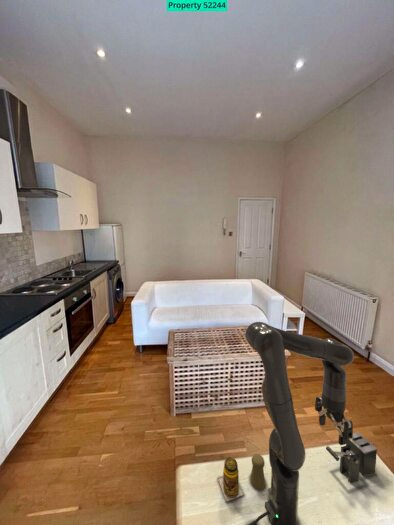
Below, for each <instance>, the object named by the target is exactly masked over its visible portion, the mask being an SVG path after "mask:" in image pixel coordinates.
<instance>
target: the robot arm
mask: <svg viewBox="0 0 394 525" xmlns="http://www.w3.org/2000/svg"><path fill="white" fill-rule="evenodd" d="M244 336H245V340H246V342H247V344H248V345H249V346H250V347H251V348H252V349H253V350H254V351H255V352H256V353H257V354H258V356H259V357H260V360H261V362H262V366H263V370H264V371H263V372H264V377H263V379H262V382H261V394H262V398H263V403H264V406H265V410H266V412H267V414H268V417H269V419H270V421H271V422H272V425H273V427H274V428H273V429H272V430H271V432H270V434H269V438H268V439H269V440H268V458H269V459H268V460H269V464H270V465H269V466H270V469H271V471H270V472H271V473H270V487H269V488H268V490H267V491H268V496H267V500H266V501H264V509H265V512H263V513H262V514H260V515H259V516H258V517H256V519H255V520H253V521H251V522H250V523H249V524H248V525H256V524H258V523H259V522H260V520H262V519H263V518H265V517H267V516H268V517H269V520H270V522H271V524H272V525H298V524H299V521H298V520H299V519H298V517H299V516H298V514H299V511H298V510H299V491H300V490H299V489H300V471H299V470H301V469H302V468H303V466H304V465H305V461H306V449H305V444H304V442H303V439H302V436H301V433H300V429H299V426H298V420H297V416H296V412H295V411H296V410H295V405H294V400H293V395H292V390H291V387H290V381H289V380H290V379H289V374H288V370H287V362H286V351H288V352H291V353H294V354H296V355H300V356H301V357H306V358H310V359H316V360H321V363H322V366H323V378H322V380H323V381H322V386H321V388H322V389H321V395H320V396H316V397H315V402H314V403H315V404H314V411H316V412H317V414H318V422H319V423H318V424H319V425H320V426H321V427H322V426H325V425H326V422H327V420H326V419H327V418H328V419H329V420H330V421H331V422H332V423H333V425H334V427H335V429H337V431H338V442H337V443H338V444H339V445H340V446H345V445H346V440H347V439H350V438H353V433H354V423H353V421H352V420H348V419H347V418H346V417H345V412H346V405H347V404H346V403H347V371H346V370H345V369H344V367H345V366H349V365H351V364H352V363H353V362H354V360H355V354H354V351H353V350H352V349H351V347H349V346H348V345H346V344H344V343H342V342H339V341H338V340H336V339H334V338H331V337H327V338H324V339H323V338H320V337H316V336H310V335H305V334H301V333H295V332H291V331H287V330H283V329H280V328H277V327H274V326H273V325H270V324H268V323H266V322H263V321H254V322H252V323H250V324H249V325H248V326H247V328H246V330H245V333H244ZM339 423H340V424H339Z"/></svg>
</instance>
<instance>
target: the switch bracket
mask: <svg viewBox="0 0 394 525" xmlns="http://www.w3.org/2000/svg"><path fill="white" fill-rule="evenodd" d="M346 450H351V446H350V445H346V444H345V445H342V446H340V452H346ZM359 467H360V455H359V454H358V453H357V454H354V455H351V456H350V460H349V459H348V458H347V457H342V456H339V472H340V474H344V473H348V480H347V482H348V483H349V484H350V485H351V484H353V483H356V482H359V480H360V473H359Z"/></svg>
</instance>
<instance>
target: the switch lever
mask: <svg viewBox="0 0 394 525" xmlns="http://www.w3.org/2000/svg"><path fill="white" fill-rule="evenodd" d="M325 450H326V451H327V452H328V453H329V454H330V455H331V457H332V458H333V459H334V460H335V461H336V462H340V457H341V456H342V457H347V458H348V459H349V460H350V456H351V455H354V453H353V452H352V451H351V450H346V452H341V451H335V450H333V449H332V448H331V447H330V446H328V445H327V446H326V447H325Z"/></svg>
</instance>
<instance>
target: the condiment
mask: <svg viewBox="0 0 394 525" xmlns="http://www.w3.org/2000/svg"><path fill="white" fill-rule="evenodd" d="M223 464H224V466H223V471H222V477H220V478H218V480H217V481H218V483H219V485H220V488H221V491H222V494H223V496H224V500H225V501H226V502H230V501H233V500H235V499H238V498H240V497H242V496H244V493H243V491H242V488H241V487H240V484H239V472H240V471H239V466H238V461H237V459H235V458H233V457H231V456H229V457H227V458H225V460H224V463H223Z"/></svg>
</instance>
